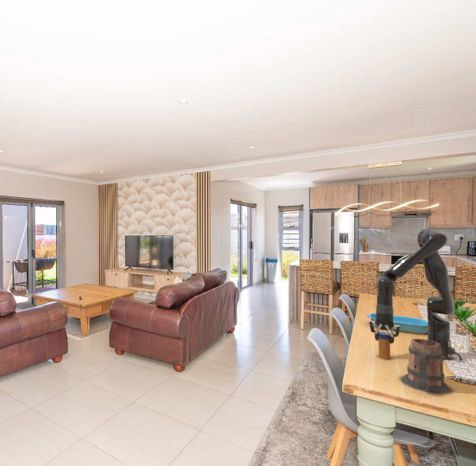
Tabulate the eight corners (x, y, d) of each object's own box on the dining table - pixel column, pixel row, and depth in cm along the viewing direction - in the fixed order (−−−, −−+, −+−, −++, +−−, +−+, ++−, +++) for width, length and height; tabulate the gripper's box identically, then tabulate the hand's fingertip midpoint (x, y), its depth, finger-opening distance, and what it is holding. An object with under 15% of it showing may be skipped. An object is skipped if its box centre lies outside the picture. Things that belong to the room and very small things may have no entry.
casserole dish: (430, 328, 235) (430, 318, 235) (436, 337, 217) (436, 326, 217) (366, 320, 256) (366, 311, 256) (366, 327, 238) (366, 318, 238)
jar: (391, 357, 185) (391, 334, 185) (387, 360, 182) (388, 336, 182) (380, 354, 189) (380, 332, 189) (376, 356, 186) (376, 334, 186)
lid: (380, 335, 189) (380, 331, 189) (392, 338, 184) (393, 333, 184) (375, 336, 186) (375, 332, 186) (388, 339, 181) (388, 335, 181)
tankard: (404, 372, 166) (404, 333, 166) (451, 384, 154) (452, 341, 153) (396, 389, 150) (396, 345, 150) (448, 403, 138) (449, 355, 137)
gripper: (367, 310, 188) (367, 340, 188) (399, 315, 177) (399, 346, 177) (370, 308, 193) (370, 337, 193) (402, 313, 182) (402, 343, 182)
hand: (384, 341), depth 185 cm, fingers closed on lid, 5 cm apart
